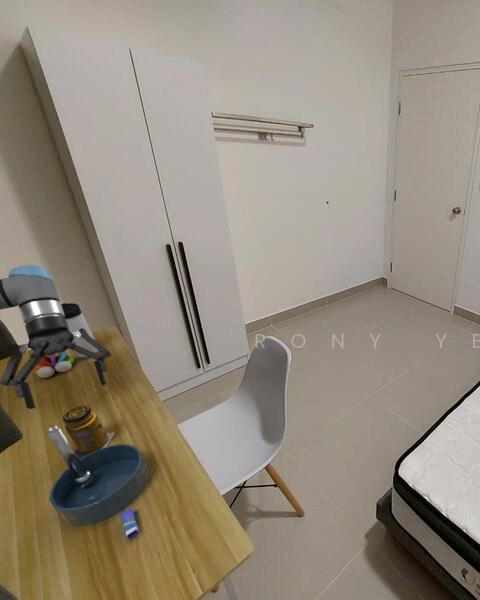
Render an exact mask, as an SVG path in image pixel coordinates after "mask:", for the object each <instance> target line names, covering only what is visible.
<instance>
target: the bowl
mask: <svg viewBox="0 0 480 600" xmlns="http://www.w3.org/2000/svg"><path fill="white" fill-rule="evenodd" d="M79 460H80V461H81V463H82V465H83V466H84V468H85V469H86V470H90V471H92V472H93V473H94V479H93V481H92V482H91V483H90V484H89V485H87V486H85V487H76V486H75V485H74V484H73V479H74V477H75V476H74V475H73V473H72V471H71V470H70V468H69V467H67V468H66V469H65V470H64V471H63V472H61V474H60V475H59V476H58V477H57V479H55V481H54V482H53V485H52V487H51V489H50V491H49V502H50V503H51V506H52V507H53V508H54V510H55V511H56V512H57V513H58V515H59V517H61V519H62V520H63V521H65V523H66V524H69V525H71V526H76V527H84V526H90V525H94V524H98V523H100V522H103V521H105V520H108V519H110V518H111V517H113V516H115V515H117V514H118V513H120V512H121V511H122V510H125V509H126V508H127V507H128V506H129V505H130V504H132V502H134V501H135V500H136V499H137V498H138V496H139V495H140V494H141V493H142V491H143V490H144V488H146V487H145V486H146V485H147V482H148V480H149V475H150V473H149V472H150V471H149V468H148V464H147V463H146V461H145V458H144V456H143V454H142V452H141V451H140V450H139V448H138V447H137V446H134V445H132V444H128V443H127V444H126V443H125V444H124V443H119V444H112V445H107V446H106V447H104V448H101V449H98V450H96V451H94V452H92V453H90V454H88V455H86V456H84V457H82V458H81V459H79Z"/></svg>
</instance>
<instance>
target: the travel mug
mask: <svg viewBox="0 0 480 600" xmlns="http://www.w3.org/2000/svg"><path fill="white" fill-rule="evenodd" d="M61 306H62V309H63V312H64V315H65V316H64V318H66V321H67V324H68V327H69V330H70V332H71V333H74V332H77V331H79V329H81V328H84V329H85V330H86V331H87V333H88V335H89V336H90V337H91V338H93V339H94V340H95V341H96V339H95V337H94V335H93V333H92V330H91V329H90V327H89V325H88V322H87V319H86V318H85V316H84V313H83V311H82V310H81V307H80V306H79V304H78V303H74V302H73V303H72V302H70V303H65V302H64V303H61ZM72 343H73V344H75V345H77V346H80V347H82V348H84V349H87V350H89V351H92V352H94V353H96V354H99V353H100V351H99V350H97V349H96V348H95V347H93V346H92V345H91V344H90V343H88V342H87V341H86V340H85V339H84V338H82V339H80V338H78V337H74V339H73V341H72ZM73 352H74V354H75V356H76V358H78V359H82V360H83V359H89V358H90V357H88V356H86V355H83V354H81V353H78V352H76V351H73Z"/></svg>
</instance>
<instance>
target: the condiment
mask: <svg viewBox="0 0 480 600" xmlns="http://www.w3.org/2000/svg"><path fill="white" fill-rule="evenodd" d="M62 421H63V422H64V425H65V427H64V428H65V431H66V432H67V434H68V435H69V437H70V439H71V441H72V442H73V444H74V445H75V449H73V450H74V452H75V453H76V455H77V457H78V458H79V459H81V458H82V457H84V456H86V455H88V454H90V453H92V452H94V451H96V450H98V449H101V448H104V447H107V446H109V444H110V442H111V440H112V439H113V437H114V436H115V433H116V431H111V432H106V430H105V428H104V426H103V425H102V423H101V421H100V419H99V417H98V415H97V413H95V412H94V411H92V408H91V407H90V406H88V405H78V406H76V407H73V408H71V409H70V410H68V411H67V412H66V413H64V414H63V416H62ZM64 463H65V464H66V462H65V461H64Z"/></svg>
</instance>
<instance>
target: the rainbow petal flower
mask: <svg viewBox="0 0 480 600" xmlns="http://www.w3.org/2000/svg"><path fill="white" fill-rule="evenodd" d="M73 362H74V358H73V356H70V355H69V354H67V352H66V351H65V352H61V353H57V355H56V353H55V354H53V355H50V356H48V355H44V357H43V358H42V359H41V360H40V361H39V362H38V364H37V365H36V366H35V368H34V369H33V372H34V374H36V376H37V377H39V378H42V379H46V378H50V377H52V376H53V375H54V374H55V372H58V373H66V372H68V371H70V370H71V369H72V366H73V364H72V363H73Z"/></svg>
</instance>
